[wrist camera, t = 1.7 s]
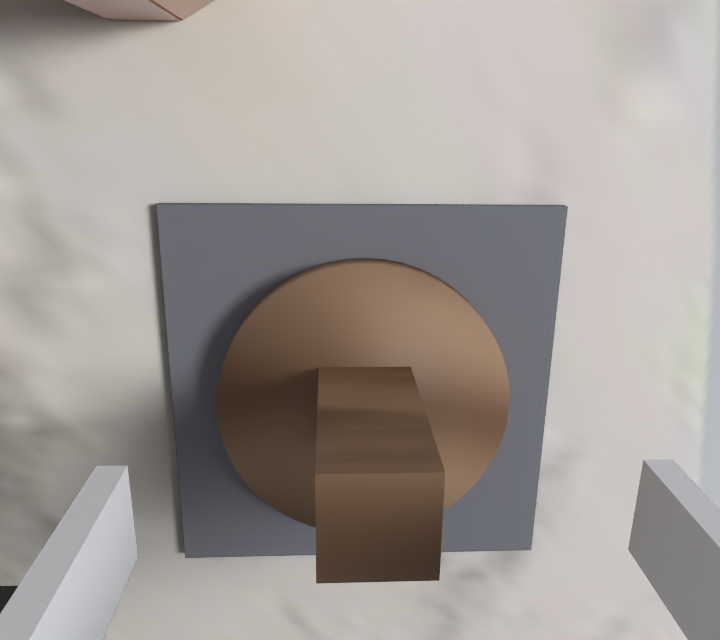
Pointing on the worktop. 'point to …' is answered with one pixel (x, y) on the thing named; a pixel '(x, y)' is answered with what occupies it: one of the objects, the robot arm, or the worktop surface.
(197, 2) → the bowl
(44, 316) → the worktop surface
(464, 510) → the mat
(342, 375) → the lid
